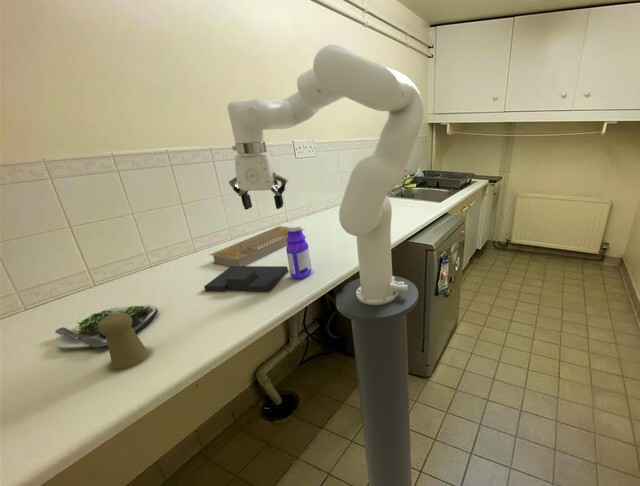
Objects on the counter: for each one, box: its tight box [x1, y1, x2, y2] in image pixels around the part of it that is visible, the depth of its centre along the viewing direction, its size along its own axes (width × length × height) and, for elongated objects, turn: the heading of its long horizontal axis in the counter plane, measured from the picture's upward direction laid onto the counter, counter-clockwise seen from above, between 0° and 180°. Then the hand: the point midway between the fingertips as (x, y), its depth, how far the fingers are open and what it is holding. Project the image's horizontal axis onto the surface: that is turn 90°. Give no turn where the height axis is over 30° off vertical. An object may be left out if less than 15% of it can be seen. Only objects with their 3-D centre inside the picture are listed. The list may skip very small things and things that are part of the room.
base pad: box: [204, 265, 289, 293], centre depth 101 cm, size 20×14×2 cm
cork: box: [98, 313, 149, 370], centre depth 66 cm, size 6×6×11 cm
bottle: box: [285, 223, 312, 280], centre depth 101 cm, size 7×6×17 cm
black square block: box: [226, 270, 257, 292], centre depth 97 cm, size 6×6×4 cm
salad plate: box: [54, 304, 159, 349], centre depth 77 cm, size 19×18×5 cm
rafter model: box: [208, 225, 305, 267], centre depth 126 cm, size 35×14×6 cm, turn 158°
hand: (264, 208), depth 94 cm, fingers open, 9 cm apart
